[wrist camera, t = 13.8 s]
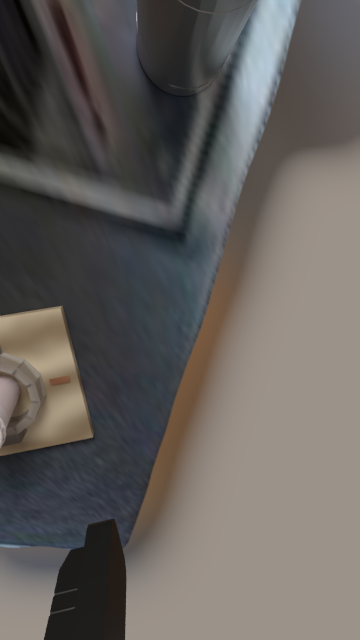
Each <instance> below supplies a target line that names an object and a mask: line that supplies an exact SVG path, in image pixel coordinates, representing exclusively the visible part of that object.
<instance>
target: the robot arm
mask: <svg viewBox="0 0 360 640" xmlns="http://www.w3.org/2000/svg"><path fill="white" fill-rule="evenodd" d="M257 1H258V0H137V25H136V44H137V51H138V56H139V59H140V62H141V65H142V67H143V69H144V71H145V73H146V75H147V76H148V77H149V78H150V80H151V81H152V82H153V83H154V84H155V85H156V86H158V87H159V88H160V89H161V90H163V91H165V92H167V93H169V94H172V95H176V96H190V95H194V94H197V93H199V92H201V91H203V90H204V89H205V88H207V87H208V86H209V85H210V84H211V83H212V82H213V80H214V79H215V78H216V76H217V75H218V73H219V71H220V69H221V67H222V65H223V64H224V62H225V60H226V58H227V57H228V55H229V53H230V51H231V49H232V47H233V46H234V44H235V42H236V40H237V38H238V36H239V35H240V33H241V31H242V29H243V27H244V25H245V24H246V22H247V20H248V18H249V16H250V14H251V13H252V11H253V9H254V7H255V5H256V3H257ZM54 593H55V596H54V597H53V601H52V605H51V610H50V616H49V619H48V624H47V628H46V633H45V637H44V640H125V617H126V616H125V615H126V566H125V558H124V554H123V549H122V545H121V541H120V537H119V533H118V529H117V525H116V522H115V519H110V520H106V521H101V522H97V523H92V524H89V525H88V527H87V532H86V538H85V545H84V547H81V548H77V549H72V550H70V552H69V554H68V556H67V558H66V559H65V561H64V563H63V564H62V566H61V568H60V570H59V574H58V578H57V583H56V587H55V592H54Z"/></svg>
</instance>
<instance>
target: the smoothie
mask: <svg viewBox="0 0 360 640" xmlns="http://www.w3.org/2000/svg"><path fill="white" fill-rule="evenodd" d="M20 393H21V387H20V384H19V382H18V381H17V380H16V379H14V378H13V377H10V376H7V375H1V376H0V448H1V447H2V445H3V443H4V442H5V437H6V428H7V425H8V423H9V420H10V418H11V416H12V413H13V411H14V408H15V406H16V403H17V401H18V398H19V396H20Z"/></svg>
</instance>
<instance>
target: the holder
mask: <svg viewBox="0 0 360 640" xmlns="http://www.w3.org/2000/svg"><path fill="white" fill-rule="evenodd" d="M1 375H7V376H10V377H13V378H14V379H16V380H17V381H18V382H19V384H20V387H21V393H20V396H19V398H18V401H17V403H16V406H15V408H14V411H13V413H12V416H11V418H10V420H9V423H8V425H7V428H6V437H5V442H4V443H3V445H2V447H1V448H0V456H3V455H8V454H13V453H18V452H23V451H28V450H33V449H38V448H43V447H48V446H53V445H58V444H63V443H68V442H73V441H78V440H83V439H88V438H93V435H94V430H93V426H92V422H91V418H90V414H89V410H88V406H87V402H86V398H85V394H84V390H83V386H82V382H81V378H80V373H79V369H78V365H77V361H76V357H75V353H74V349H73V345H72V341H71V337H70V333H69V329H68V325H67V321H66V317H65V313H64V309H63V306H59V307H52V308H46V309H40V310H34V311H28V312H21V313H15V314H9V315H3V316H0V376H1Z"/></svg>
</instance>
